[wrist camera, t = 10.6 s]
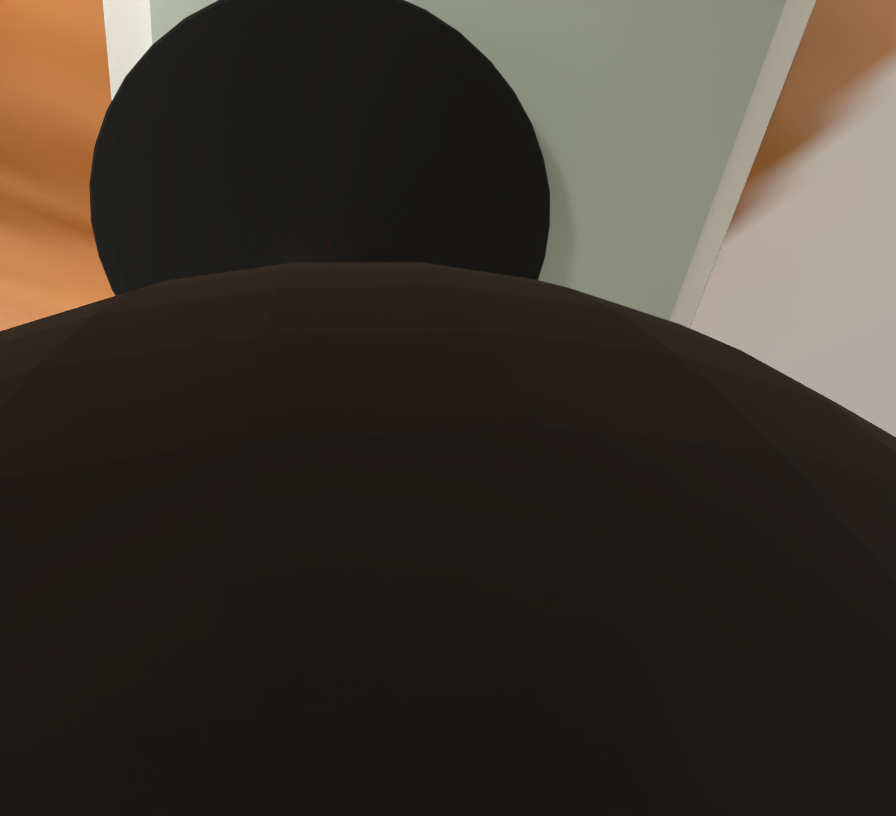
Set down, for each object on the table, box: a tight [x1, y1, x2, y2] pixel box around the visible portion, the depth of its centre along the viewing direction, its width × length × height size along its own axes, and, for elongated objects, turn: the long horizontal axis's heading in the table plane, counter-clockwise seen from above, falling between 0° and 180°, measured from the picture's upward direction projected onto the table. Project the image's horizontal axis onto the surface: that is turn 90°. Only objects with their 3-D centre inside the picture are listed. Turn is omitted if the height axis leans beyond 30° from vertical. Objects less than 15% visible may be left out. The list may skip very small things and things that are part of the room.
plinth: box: [103, 0, 816, 328], centre depth 20 cm, size 16×16×4 cm
